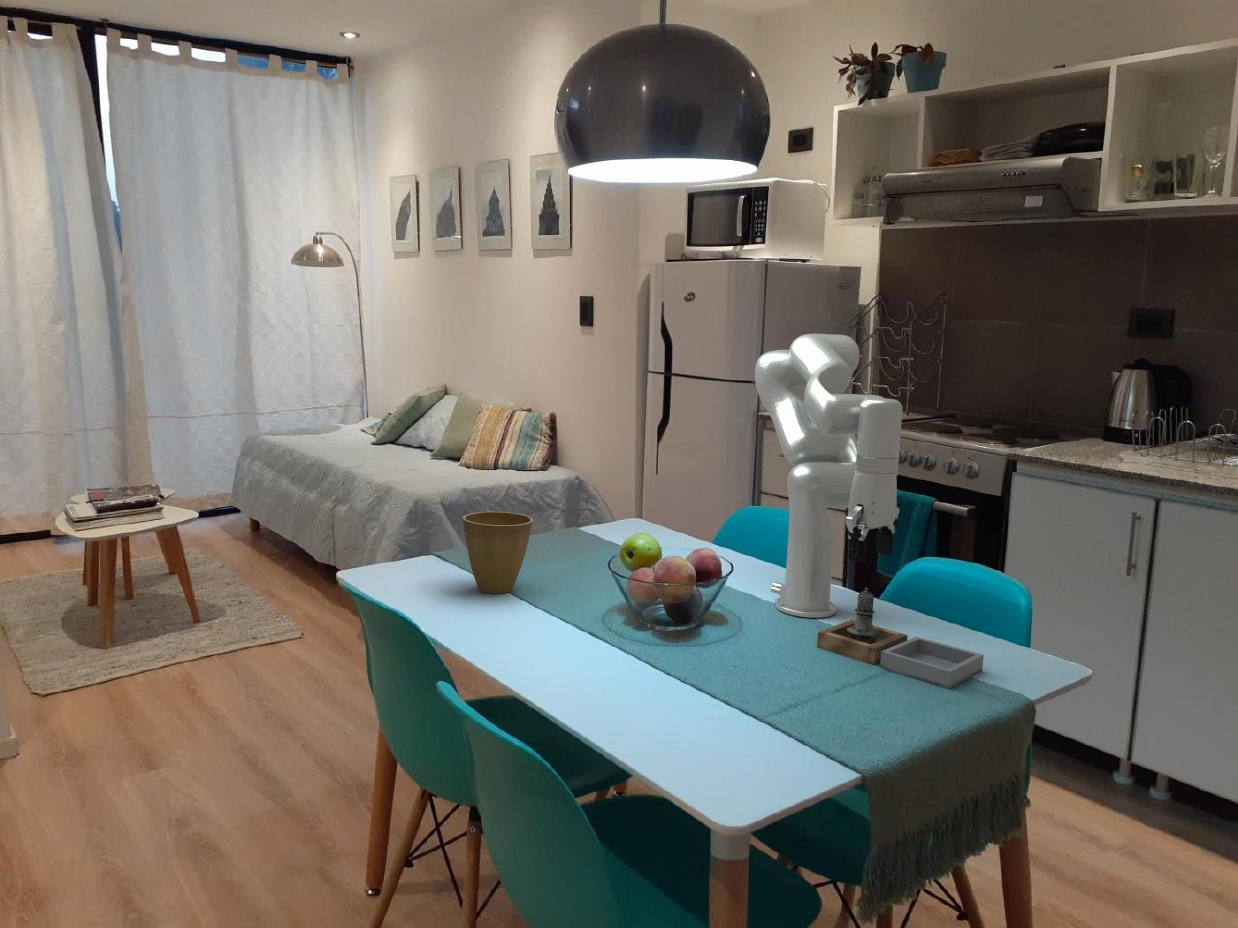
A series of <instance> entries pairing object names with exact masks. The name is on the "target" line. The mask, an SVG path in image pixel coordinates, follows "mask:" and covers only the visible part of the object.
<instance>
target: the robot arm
mask: <svg viewBox="0 0 1238 928" xmlns="http://www.w3.org/2000/svg"><path fill="white" fill-rule="evenodd" d="M859 362H860V349H859V346H858V344H857V342H856V341H855V340H854V339H853V338H852V337H850V336H848V335H846V334H829V333H806V334H802V335H800V336H798V337H796V338H795V339H794V340H793V341H792V342H791V344H790V347H789V349H775V350H770V351H767V352H765V353H763V354H762V355H761V356H759V357H758V359H757V361H756V364H755V368H754V381H755V387H756V391H757V394H758V397H759V399H760V401H761V403H762V405H763V406H764V408H765V410H766V412H767V413H768V414H769V417H770V418H771V421H772V423H773V427H774V430H775V434H776V435H777V438H778V442H779V444H780V449H781V451H782V454H783V456H784V459H785V460H786V462H787V463H788V464H789V465H792V466H794V467H792V468H791V470H790V471H789V473H788V475H787V482H786V487H787V488H786V489H787V496H788V508H789V509H788V512H789V513H788V514H789V516H788V517H789V520H788V538H787V540H788V541H787V550H786V551H787V552H786V553H787V555H786V568H785V583H782V582H778V581H774V582H772V585H771V587H770V592H771V593H773V594H778V595H779V598H778V599H777V600H776V608H777V610H779V611H780V612H782V613H785V614H787V615H790V616H795V617H801V618H810V619H811V618H812V619H813V618H815V619H816V618H818V619H820V618H828V617H832V616H834V615H835V614H836V613H837V610H838V609H837V605H836V604H835V603H833V602H831V587H832V574H833V563H834V562H833V561H834V550H835V549H834V547H835V534H836V533H835V526H834V524H833V521H832V520H831V518H830V517H829V516H828V514H827V512H826V509H836V508H837V509H839V508H840V509H841V508H842V509H843V508H844V509H845V508H847V516H846V517H845V523H846V524H845V525H846V532H847V538H848V539H849V542H848V555H847V556H848V557H847V559H848V560H849V561H852V562H856V563H861V564H862V563H865V562H866V557H867V556H866V554H867V540H865V539H866V537H867V535H868V532H869V530H876V529H878V531H877V532H876V541H875V553H876V554H880V555H884V556H891V555H893V550H894V549H893V548H894V534H895V533H896V525H897V523H898V518H899V513H900V508H899V507H898V506H897V504H898V503H897V501H898V500H897V499H898V496H897V494H898V489H897V488H898V487H897V486H898V484H897V481H898V480H897V476H899V475H898V472H899V462H900V461H899V457H900V447H901V436H902V435H901V434H902V432H901V430H902V421H903V419H902V418H903V405H902V403H901V402H900V401H899V400H897V399H893V398H885V397H883V396H882V395H881V396H880V395H877V394H876V395H875V394H858V393H855V394H854V393H843V392H844V391H846V390H847V388H848V387H849V386H850V383H851V381H852V374H853V373H854V371H856V369H857V368H858V365H859V364H860V363H859ZM792 389H804V393H803V394H804V395H803V398H802V397H801V396H799V394H797V393H796V392H794V391H793V390H792ZM856 435H857V437H856ZM860 530H861V531H860Z"/></svg>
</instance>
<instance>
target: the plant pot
mask: <svg viewBox="0 0 1238 928" xmlns="http://www.w3.org/2000/svg"><path fill="white" fill-rule="evenodd" d="M462 519H463V520H462V521H463V530H464V538H465V543H466V544H465V545H466V551H467V555H468V559H469V564H470V567H471V572H472V575H473V578H474V581H475V584H476V586H477V587H476V588H477V589H478V591H479V592H481V593H485V594H493V595H495V594H497V595H499V594H507V593H510V592H511V591H513V588H514V586H515V584H516V581H517V579H518V576H519V574H520V571H521V568H522V565H523V562H524V558H525V556H526V552H527V549H528V544H529V540H530V539H529V538H530V535H531V532H532V531H531V530H532V526H533V525H532V524H533V518H532V517H530V516H528V515H525V514H521V513H515V512H507V511H479V512H473V513H469V514H466V515H464V516H462Z"/></svg>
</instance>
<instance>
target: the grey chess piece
mask: <svg viewBox="0 0 1238 928" xmlns="http://www.w3.org/2000/svg"><path fill="white" fill-rule="evenodd" d="M874 598H875V597H874V594H873V593H872V592H869V588H868V587H867V586H866V587H865V588H864V590H863V591H861V592H859V593H858V595H857V605H856V608H855V609H854V612H855V613H856V614H855V624H854V626H850V627H848V628H847V631H848V632H849V637H850V638H851V639H854V640H858V641H861V642H864V643H868V644H871V645H872V644H873V643H874V642H875V641H876V639H877V635H878V634H879V631H878V630H876V629H874V628H873V626H874V625H873V619H874V618H873V617H874V616H873V615H874V614H876V613H875V611H874Z"/></svg>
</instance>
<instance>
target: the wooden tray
mask: <svg viewBox="0 0 1238 928" xmlns="http://www.w3.org/2000/svg"><path fill="white" fill-rule="evenodd" d="M855 621H856V619H855V620H854V619H850V620H847V621H844V622H842V623H839V624H836V625H833V626H830V627H828V628H825V629H822V630H819V631H818V632H817V641H816V642H817V643H816V648H819V649H821V650H822V649H823V650H825V651H828V652H831V653H835V654H837V655H841V656H844V657H848V658H851V659H854V660H857V661H861V662H863V663H867V664H870V665H877V664H879V663H880V661H881V651H884V650H886V649H888V648H891V647H893V646H895V645H898V644H900V643H902V642H905V641H907V640H908V636H909V635H908V634H906V633H902V632H898V631H896V630H895V631H894V630H891V629H888V628H883V627H881V626H876V625H873V628H874V629H876V630H878V631H879V634H878V635H877V639H876V641H875V642H874V643H875V644H868V643H864V642H861V641H858V640H854V639H851V638H850V637H849V632H848V631H847V628H848V627H850V626H854V624H855Z"/></svg>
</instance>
